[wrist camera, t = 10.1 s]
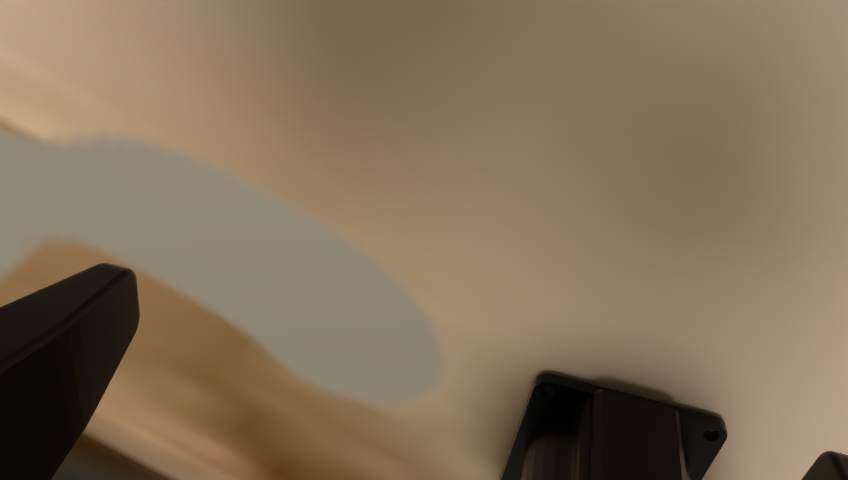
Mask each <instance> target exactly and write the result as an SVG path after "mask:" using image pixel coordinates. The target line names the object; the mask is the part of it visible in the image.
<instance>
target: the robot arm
mask: <svg viewBox="0 0 848 480" xmlns="http://www.w3.org/2000/svg"><path fill="white" fill-rule="evenodd" d="M139 318H140V312H139V301H138V290H137V280H136V275H135V273H134V272H133V271H132V270H131V269H129V268H125V267H121V266H117V265H113V264H110V263H101V264H98V265H95V266H93V267H90V268H88V269H86V270H84V271H81V272H79V273H77V274H75V275H72V276H70V277H68V278H66V279H63V280H61V281H59V282H56V283H54V284H52V285H50V286H47V287H45V288H43V289H41V290H38V291H36V292H34V293H31V294H29V295H27V296H25V297H22V298H20V299H18V300H16V301H13V302H11V303H9V304H7V305H4V306H2V307H0V480H51V479H52V478H53V476H54V475H55V473H56V472H57V470H58V469H59V467H60V466H61V464H62V463H63V461H64V460H65V459H66V457H67V456H68V454H69V453H70V451H71V450H72V448H73V447H74V445H75V444H76V442H77V440H78V439H79V437H80V436H81V434H82V433H83V431H84V429H85V428H86V426H87V424H88V422H89V421H90V419H91V417H92V415H93V413H94V411H95V410H96V408H97V406H98V404H99V402H100V400H101V398H102V396H103V394H104V392H105V390H106V388H107V387H108V385H109V383H110V381H111V379H112V377H113V375H114V373H115V371H116V369H117V367H118V365H119V364H120V362H121V360H122V358H123V356H124V354H125V352H126V350H127V348H128V346H129V344H130V342H131V341H132V339H133V337H134V335H135V333H136V330H137V327H138V324H139ZM546 387H547V388H552V390H547V389H544V388H546ZM708 430H714V431H712V432H709V431H708ZM726 438H727V430H726V425H725V422H724V421H723V420H722V419H720V418H718V417H715V416H711V415H708V414H704V413H700V412H696V411H692V410H688V409H684V408H681V407H677V406H673V405H669V404H665V403H661V402H657V401H654V400H650V399H646V398H642V397H638V396H634V395H630V394H627V393H623V392H619V391H615V390H611V389H607V388H603V387H600V386H596V385H592V384H588V383H584V382H580V381H576V380H572V379H569V378H565V377H561V376H557V375H553V374H542V375H540V376H538V377H537V378H536V379H535V381H534V383H533V386H532V389H531V392H530V394H529V397H528V400H527V403H526V406H525V409H524V411H523V414H522V417H521V420H520V423H519V426H518V428H517V431H516V434H515V437H514V440H513V442H512V445H511V448H510V451H509V454H508V457H507V459H506V462H505V465H504V468H503V471H502V474H501V476H500V480H702V478H703V476H704V475H705V473H706V472H707V470H708V468H709V467H710V465H711V463H712V462H713V460H714V459H715V457H716V455H717V454H718V452H719V450H720V449H721V447H722V445H723V444H724V442H725V441H726ZM802 480H848V455H845V454H841V453H837V452H833V451H826V452H824V453H822V454H821V455H820V456H819V457H818V458H817V460H816V461H815V462H814V464H813V465H812V466H811V468H810V469H809V470H808V472H807V473H806V474H805V476H804V477H803V478H802Z"/></svg>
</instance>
